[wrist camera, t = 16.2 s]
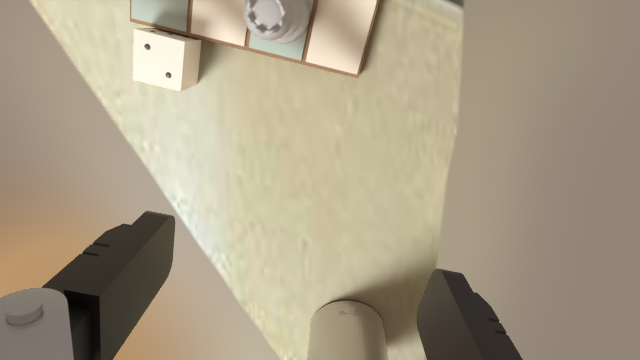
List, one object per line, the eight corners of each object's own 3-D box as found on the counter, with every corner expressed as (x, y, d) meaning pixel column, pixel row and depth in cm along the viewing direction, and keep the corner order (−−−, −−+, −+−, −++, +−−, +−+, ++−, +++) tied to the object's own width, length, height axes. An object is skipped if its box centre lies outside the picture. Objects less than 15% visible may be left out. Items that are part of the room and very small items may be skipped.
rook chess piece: (276, -29, 28) (256, -47, 21) (320, 10, 29) (316, 6, 22) (245, 19, 30) (216, 19, 22) (288, 55, 31) (274, 66, 23)
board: (357, 76, 33) (358, 78, 31) (137, 21, 31) (128, 21, 30) (380, -9, 30) (382, -10, 28) (139, -73, 28) (130, -77, 27)
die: (197, 83, 33) (180, 91, 30) (154, 73, 33) (132, 79, 30) (202, 38, 32) (184, 40, 28) (157, 26, 32) (133, 27, 28)
